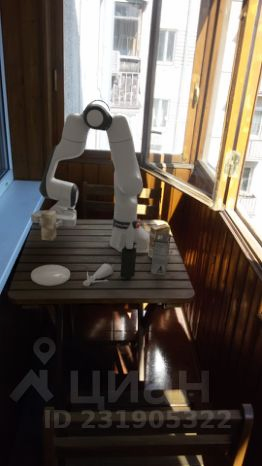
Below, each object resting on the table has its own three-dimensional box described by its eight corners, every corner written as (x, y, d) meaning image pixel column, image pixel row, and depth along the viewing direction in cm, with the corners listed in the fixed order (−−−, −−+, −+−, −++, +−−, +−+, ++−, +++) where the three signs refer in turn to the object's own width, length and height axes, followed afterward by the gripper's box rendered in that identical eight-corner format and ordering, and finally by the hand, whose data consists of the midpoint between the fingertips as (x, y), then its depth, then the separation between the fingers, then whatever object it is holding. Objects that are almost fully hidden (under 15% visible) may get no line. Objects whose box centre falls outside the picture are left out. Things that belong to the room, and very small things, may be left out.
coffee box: (153, 264, 178) (156, 232, 172) (167, 266, 177) (171, 234, 171) (150, 273, 170) (153, 240, 164) (165, 275, 169) (168, 242, 163)
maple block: (56, 236, 175) (56, 211, 170) (52, 240, 170) (52, 215, 165) (45, 235, 175) (45, 210, 170) (41, 239, 171) (40, 213, 166)
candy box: (152, 259, 183) (156, 229, 177) (147, 255, 186) (150, 226, 180) (167, 255, 188) (170, 226, 182) (161, 252, 191) (165, 223, 185)
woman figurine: (121, 265, 166) (95, 285, 152) (121, 274, 168) (95, 294, 154) (100, 257, 171) (72, 275, 158) (100, 266, 173) (73, 284, 160)
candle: (129, 279, 164) (133, 224, 154) (119, 276, 166) (122, 221, 156) (135, 274, 168) (139, 221, 158) (125, 271, 170) (128, 218, 160)
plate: (74, 269, 169) (74, 267, 168) (63, 288, 154) (63, 286, 154) (39, 264, 170) (39, 262, 170) (24, 282, 156) (24, 280, 155)
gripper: (36, 205, 182) (25, 215, 169) (79, 210, 179) (70, 220, 167) (37, 218, 184) (25, 228, 172) (79, 223, 182) (70, 234, 169)
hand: (48, 224), depth 169 cm, fingers closed on maple block, 5 cm apart
